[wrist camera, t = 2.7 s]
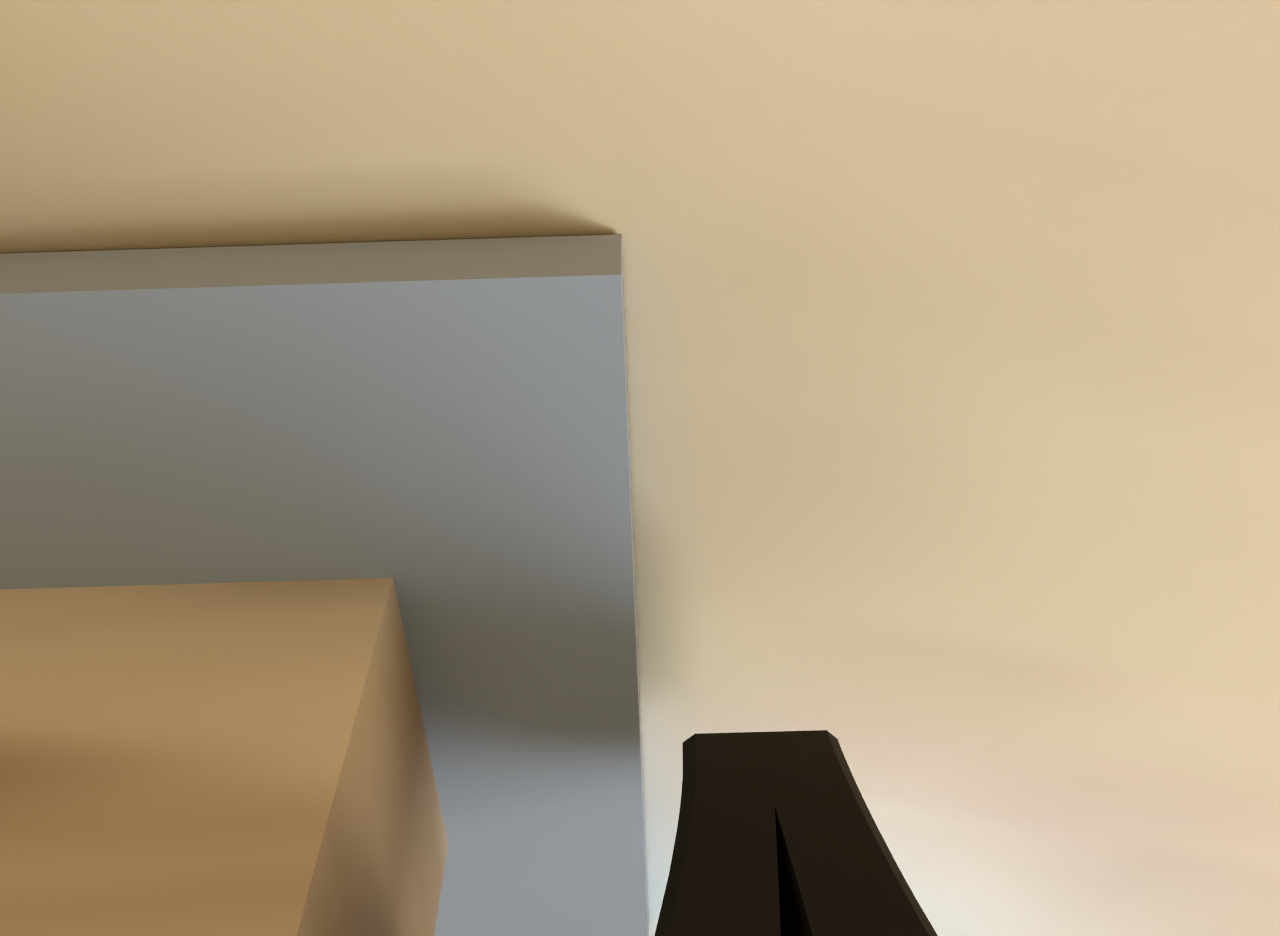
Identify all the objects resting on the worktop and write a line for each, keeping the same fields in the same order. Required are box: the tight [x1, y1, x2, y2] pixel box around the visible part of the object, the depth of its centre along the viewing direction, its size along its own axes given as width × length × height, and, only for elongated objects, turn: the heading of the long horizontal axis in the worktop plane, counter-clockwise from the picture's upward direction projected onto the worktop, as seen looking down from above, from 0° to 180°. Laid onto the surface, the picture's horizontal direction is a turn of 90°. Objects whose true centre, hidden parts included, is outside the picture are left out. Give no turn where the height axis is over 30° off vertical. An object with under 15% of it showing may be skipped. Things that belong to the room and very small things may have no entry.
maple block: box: [0, 578, 448, 936], centre depth 10 cm, size 4×4×4 cm
